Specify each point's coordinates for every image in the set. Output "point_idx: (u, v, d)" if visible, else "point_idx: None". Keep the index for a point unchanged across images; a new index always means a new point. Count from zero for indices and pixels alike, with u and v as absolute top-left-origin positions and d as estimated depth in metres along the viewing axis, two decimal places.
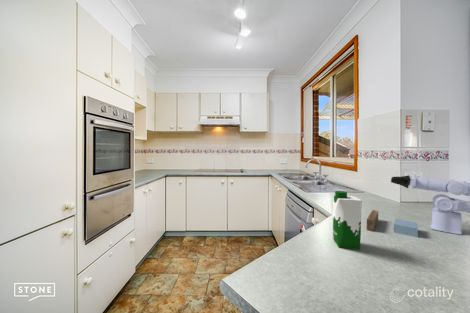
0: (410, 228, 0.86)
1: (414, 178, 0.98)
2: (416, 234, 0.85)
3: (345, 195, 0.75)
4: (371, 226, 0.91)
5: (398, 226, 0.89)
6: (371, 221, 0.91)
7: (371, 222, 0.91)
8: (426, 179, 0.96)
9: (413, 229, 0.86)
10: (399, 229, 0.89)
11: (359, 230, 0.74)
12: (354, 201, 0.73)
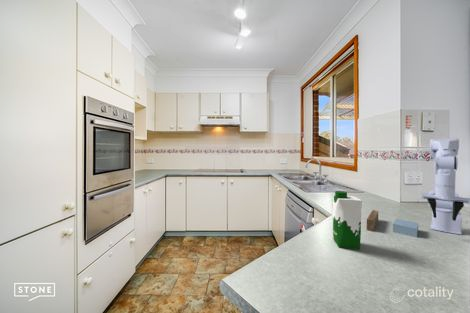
0: (409, 228, 0.86)
1: (455, 199, 0.80)
2: (415, 234, 0.85)
3: (345, 195, 0.75)
4: (371, 226, 0.91)
5: (397, 226, 0.89)
6: (371, 221, 0.91)
7: (371, 222, 0.91)
8: (451, 187, 0.80)
9: (412, 229, 0.86)
10: (398, 228, 0.89)
11: (359, 230, 0.74)
12: (354, 201, 0.73)
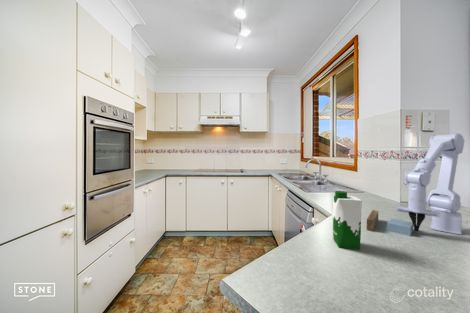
0: (403, 227, 0.88)
1: (426, 212, 0.85)
2: (409, 233, 0.86)
3: (345, 195, 0.75)
4: (371, 226, 0.91)
5: (392, 225, 0.90)
6: (371, 221, 0.91)
7: (371, 222, 0.91)
8: (422, 202, 0.86)
9: (406, 228, 0.87)
10: (392, 227, 0.90)
11: (359, 230, 0.74)
12: (354, 201, 0.73)
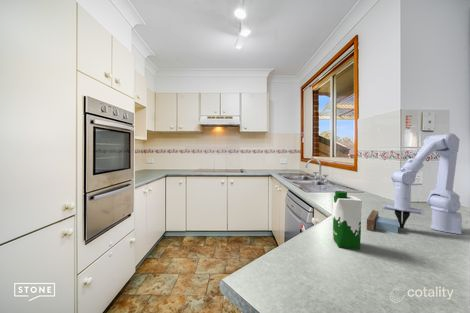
0: (391, 225, 0.90)
1: (410, 210, 0.88)
2: (396, 231, 0.89)
3: (345, 195, 0.75)
4: (371, 226, 0.91)
5: (380, 223, 0.93)
6: (371, 221, 0.91)
7: (371, 222, 0.91)
8: (407, 200, 0.89)
9: (393, 226, 0.90)
10: (380, 226, 0.93)
11: (359, 230, 0.74)
12: (354, 201, 0.73)
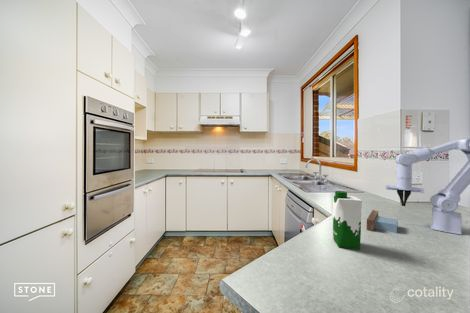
0: (389, 224, 0.90)
1: (411, 189, 0.96)
2: (395, 230, 0.89)
3: (345, 195, 0.75)
4: (371, 226, 0.91)
5: (379, 223, 0.93)
6: (371, 221, 0.91)
7: (371, 222, 0.91)
8: (408, 179, 0.97)
9: (392, 225, 0.90)
10: (379, 225, 0.93)
11: (359, 230, 0.74)
12: (354, 201, 0.73)
